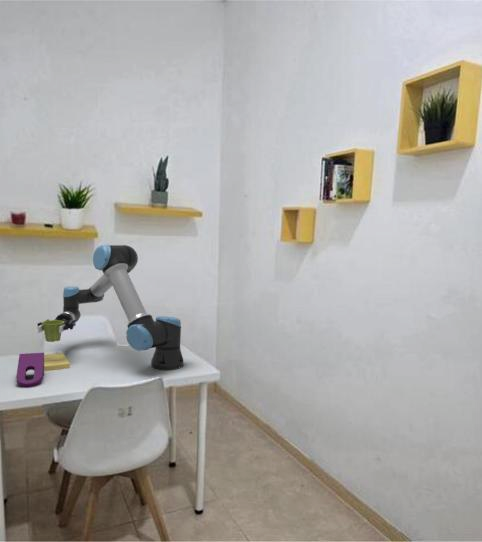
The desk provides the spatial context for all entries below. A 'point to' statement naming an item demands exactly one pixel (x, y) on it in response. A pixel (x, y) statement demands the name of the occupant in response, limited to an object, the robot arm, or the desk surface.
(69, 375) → the desk surface
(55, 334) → the plant pot
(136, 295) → the robot arm
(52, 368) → the shelf board
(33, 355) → the mounting bracket
